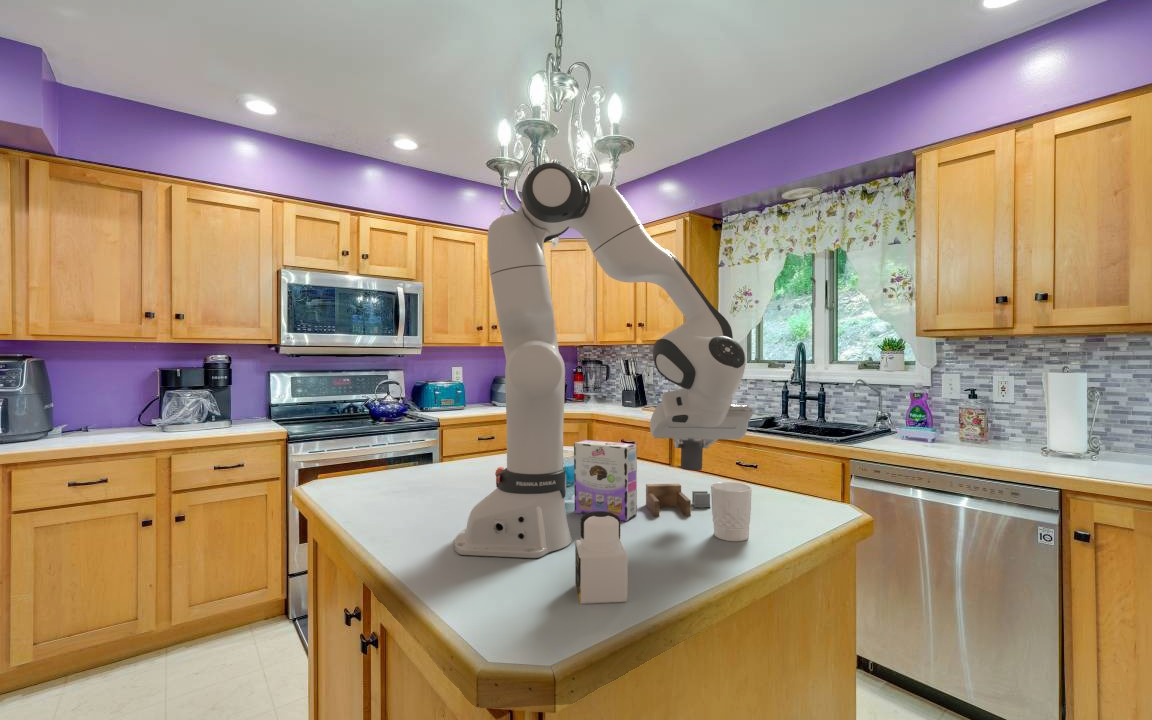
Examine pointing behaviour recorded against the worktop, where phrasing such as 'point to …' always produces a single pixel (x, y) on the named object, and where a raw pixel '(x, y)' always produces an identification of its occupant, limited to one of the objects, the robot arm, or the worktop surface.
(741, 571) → the worktop surface
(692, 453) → the plug
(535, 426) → the robot arm
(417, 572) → the worktop surface
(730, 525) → the white cup
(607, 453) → the candy box
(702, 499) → the clip
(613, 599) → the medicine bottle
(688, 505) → the frame
